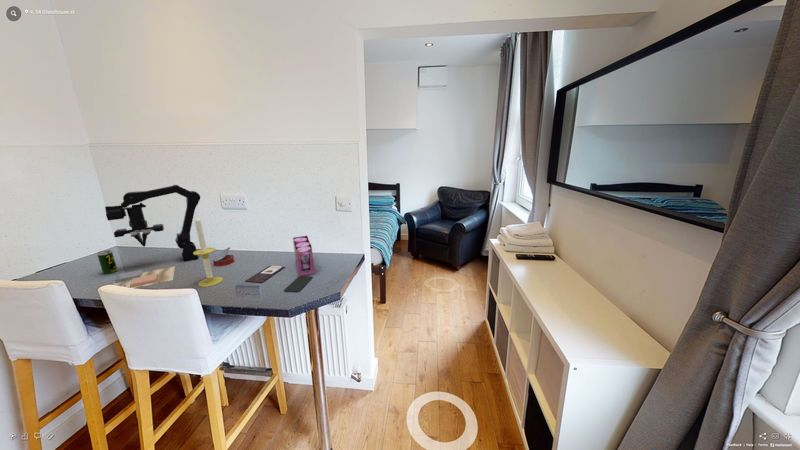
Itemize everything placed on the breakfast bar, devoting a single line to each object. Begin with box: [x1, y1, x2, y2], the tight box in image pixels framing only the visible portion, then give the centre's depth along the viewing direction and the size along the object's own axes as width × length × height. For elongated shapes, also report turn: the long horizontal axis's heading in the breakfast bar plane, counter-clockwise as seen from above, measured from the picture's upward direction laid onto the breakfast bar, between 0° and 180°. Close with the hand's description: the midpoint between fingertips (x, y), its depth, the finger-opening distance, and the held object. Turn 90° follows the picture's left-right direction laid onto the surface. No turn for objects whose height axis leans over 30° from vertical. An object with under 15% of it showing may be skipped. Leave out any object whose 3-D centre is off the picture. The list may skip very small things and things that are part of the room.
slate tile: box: [114, 269, 144, 284], centre depth 140 cm, size 2×8×9 cm
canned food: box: [212, 246, 235, 267], centre depth 157 cm, size 11×10×10 cm
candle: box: [193, 214, 224, 288], centre depth 130 cm, size 10×10×32 cm
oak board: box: [112, 266, 176, 289], centre depth 139 cm, size 23×21×1 cm
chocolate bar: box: [244, 265, 286, 284], centre depth 141 cm, size 9×1×18 cm
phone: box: [283, 275, 314, 293], centre depth 130 cm, size 7×1×15 cm
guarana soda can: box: [96, 249, 119, 276], centre depth 145 cm, size 5×5×12 cm
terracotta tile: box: [130, 274, 158, 289], centre depth 135 cm, size 2×8×9 cm
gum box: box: [292, 235, 316, 277], centre depth 147 cm, size 24×8×14 cm, turn 23°
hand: (144, 246), depth 149 cm, fingers closed
